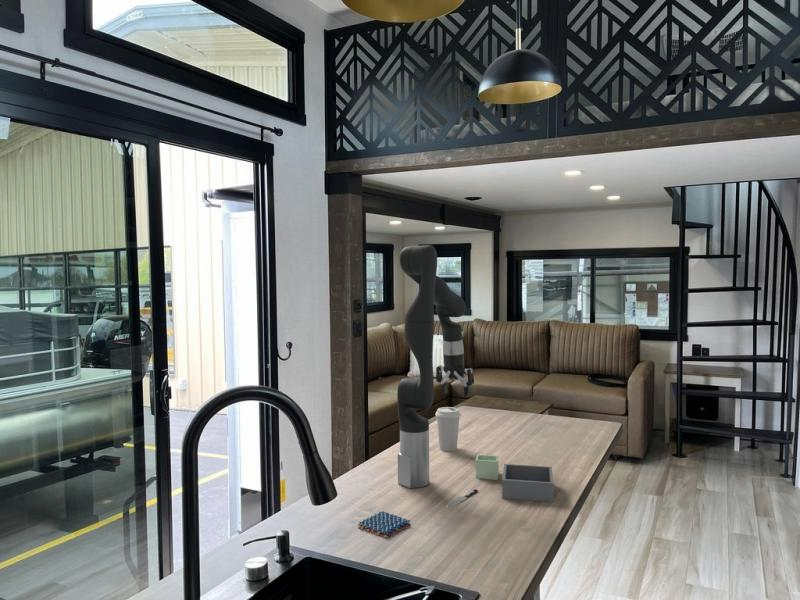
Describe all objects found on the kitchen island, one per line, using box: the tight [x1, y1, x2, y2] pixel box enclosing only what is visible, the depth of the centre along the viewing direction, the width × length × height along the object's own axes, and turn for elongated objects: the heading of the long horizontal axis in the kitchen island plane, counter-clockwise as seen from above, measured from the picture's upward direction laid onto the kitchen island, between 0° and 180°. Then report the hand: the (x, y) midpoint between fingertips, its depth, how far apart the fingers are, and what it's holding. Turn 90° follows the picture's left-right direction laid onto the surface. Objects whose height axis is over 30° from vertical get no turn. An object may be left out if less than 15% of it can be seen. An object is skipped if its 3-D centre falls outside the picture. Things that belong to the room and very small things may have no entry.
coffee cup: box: [435, 406, 462, 452], centre depth 218 cm, size 10×10×15 cm
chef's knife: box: [446, 489, 478, 511], centre depth 169 cm, size 19×1×3 cm
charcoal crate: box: [501, 463, 554, 503], centre depth 176 cm, size 15×15×6 cm
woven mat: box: [357, 511, 411, 539], centre depth 153 cm, size 10×11×2 cm
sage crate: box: [475, 454, 500, 480], centre depth 189 cm, size 6×7×6 cm
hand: (455, 394), depth 213 cm, fingers open, 8 cm apart
